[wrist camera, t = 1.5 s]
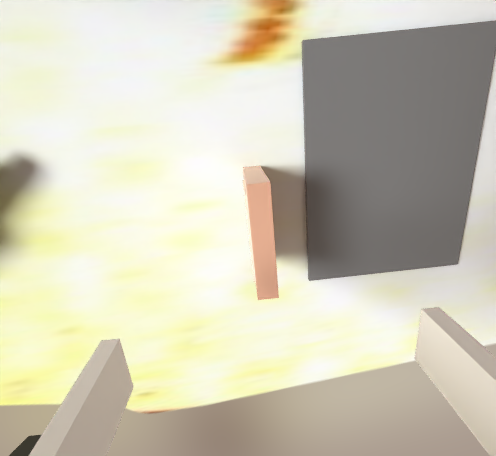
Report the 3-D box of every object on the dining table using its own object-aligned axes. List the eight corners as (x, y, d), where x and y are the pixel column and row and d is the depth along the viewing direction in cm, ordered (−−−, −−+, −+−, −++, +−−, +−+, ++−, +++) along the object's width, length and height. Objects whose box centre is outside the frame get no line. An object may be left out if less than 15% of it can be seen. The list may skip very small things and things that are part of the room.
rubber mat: (301, 41, 23) (302, 40, 23) (496, 21, 23) (500, 20, 23) (308, 278, 30) (309, 280, 30) (454, 262, 31) (457, 264, 30)
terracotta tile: (241, 167, 26) (244, 184, 19) (259, 165, 26) (270, 181, 19) (250, 255, 29) (256, 300, 22) (267, 253, 29) (278, 297, 22)
